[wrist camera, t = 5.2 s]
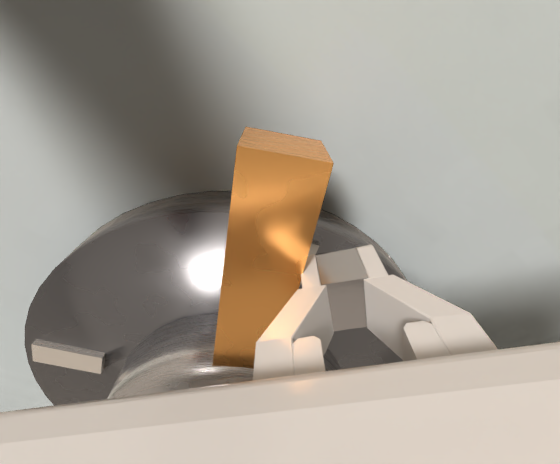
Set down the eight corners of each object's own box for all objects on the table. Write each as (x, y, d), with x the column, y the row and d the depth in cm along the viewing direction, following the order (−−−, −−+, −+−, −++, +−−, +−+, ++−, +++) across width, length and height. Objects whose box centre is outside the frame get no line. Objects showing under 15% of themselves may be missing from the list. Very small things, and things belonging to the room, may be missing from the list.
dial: (315, 454, 18) (322, 529, 15) (130, 439, 17) (100, 517, 14) (455, 164, 9) (537, 211, 6) (89, 94, 8) (-14, 113, 5)
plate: (499, 265, 14) (535, 298, 12) (329, 460, 24) (333, 497, 22) (46, 120, 11) (-6, 134, 9) (56, 416, 20) (32, 455, 18)
